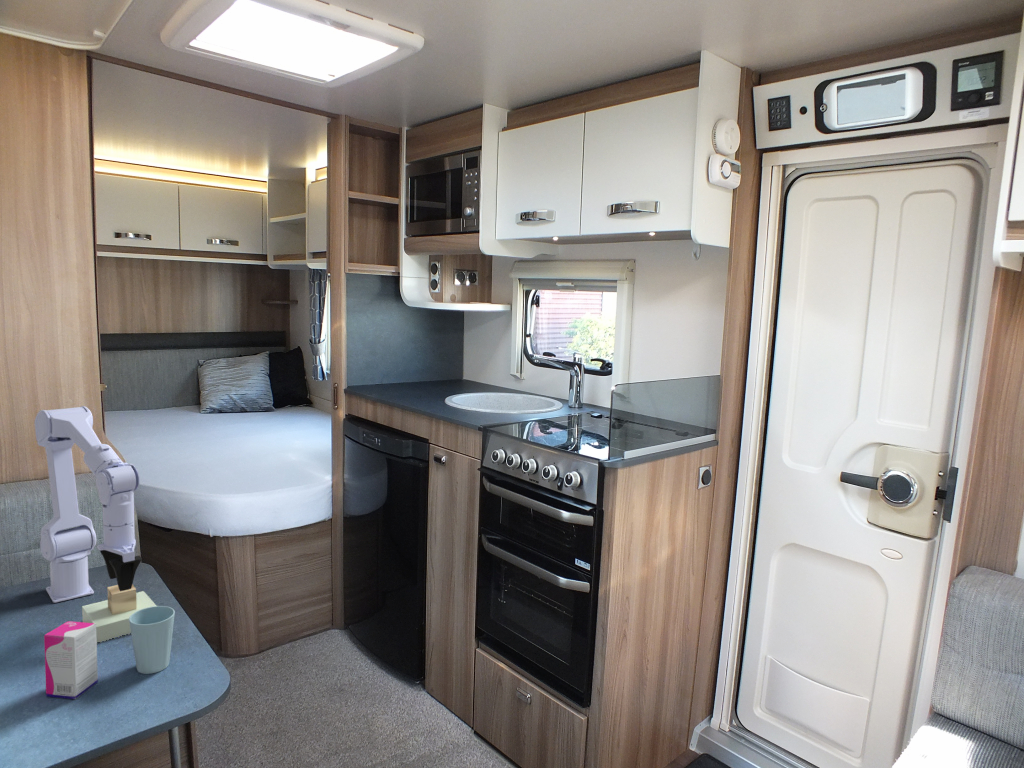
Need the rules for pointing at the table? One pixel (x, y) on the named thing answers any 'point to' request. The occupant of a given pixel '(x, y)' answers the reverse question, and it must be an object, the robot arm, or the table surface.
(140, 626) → the cup
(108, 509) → the robot arm
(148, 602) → the green box
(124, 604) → the birch block
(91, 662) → the supplement box
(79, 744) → the table surface
